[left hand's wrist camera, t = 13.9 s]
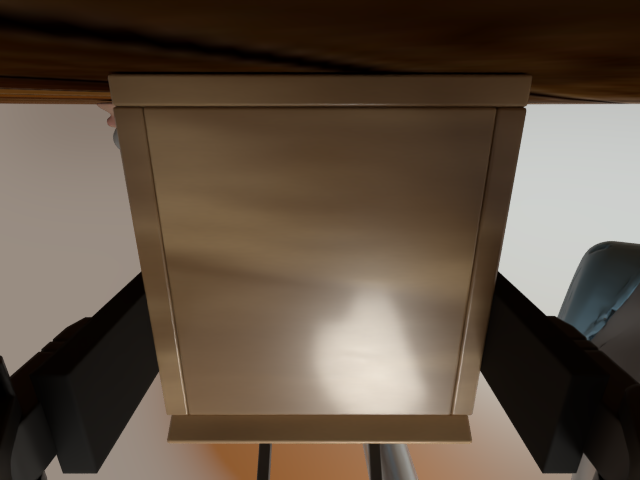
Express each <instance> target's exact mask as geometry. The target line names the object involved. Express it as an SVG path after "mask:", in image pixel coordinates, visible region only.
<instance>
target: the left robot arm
mask: <svg viewBox="0 0 640 480" xmlns="http://www.w3.org/2000/svg"><path fill="white" fill-rule="evenodd" d="M480 371H481V373H482V374H483V376H484V378H485V379H486V381H487V382H488V384H489V386H490V387H491V389H492V391H493V392H494V394H495V396H496V397H497V399H498V401H499V402H500V404H501V406H502V407H503V409H504V410H505V412H506V414H507V415H508V417H509V419H510V420H511V422H512V423H513V425H514V427H515V428H516V430H517V432H518V433H519V435H520V437H521V438H522V440H523V442H524V443H525V445H526V447H527V448H528V450H529V452H530V453H531V455H532V457H533V458H534V460H535V462H536V463H537V465H538V466H539V468H540V470H541V471H542V473H572V479H571V480H640V244H634V243H625V242H616V241H607V242H602V243H599V244H597V245H594V246H593V247H591V248H590V249H589V250H588V251H587V252H586V253H585V255H584V256H583V258H582V260H581V262H580V264H579V266H578V268H577V270H576V273H575V275H574V277H573V279H572V282H571V284H570V286H569V289H568V291H567V294H566V296H565V299H564V302H563V304H562V307H561V309H560V312H559V315H558V317H555V316H546V315H545V314H544V313H543V312H542V311H541V310H539V309H538V308H537V307H536V306H535V305H534V304H533V303H532V302H531V301H530V300H529V299H528V298H526V297H525V296H524V295H523V294H522V293H521V292H520V291H519V290H518V289H517V288H516V287H515V286H513V285H512V284H511V283H510V282H509V281H508V280H507V279H506V278H505V277H504V276H503V275H502V274H500V273H499V272H498V273H497V278H496V284H495V289H494V295H493V301H492V306H491V312H490V317H489V323H488V329H487V334H486V340H485V346H484V351H483V357H482V362H481V368H480ZM158 372H159V367H158V361H157V355H156V350H155V344H154V338H153V333H152V327H151V321H150V316H149V310H148V305H147V299H146V293H145V288H144V282H143V277H142V271H141V272H140V273H139V274H138V275H137V276H136V277H135V278H134V279H133V280H132V281H131V282H129V283H128V284H127V285H126V286H125V287H124V288H123V289H122V290H121V291H120V292H119V293H117V294H116V295H115V296H114V297H113V298H112V299H111V300H110V301H109V302H108V303H107V304H106V305H104V306H103V307H102V308H101V309H100V310H99V311H98V312H97V313H96V314H95V315H94V316H93V317H85V318H83V319H81V320H79V321H78V322H76V323H74V324H72V325H70V326H68V327H67V328H65V329H64V330H63V331H62V332H61V333H60V334H58V335H57V336H56V337H55V338H54V339H53V342H49V343H48V344H47V345H46V346H45V347H44V348H42V351H41V352H38V353H37V354H36V355H34V356H33V357H32V358H31V359H30V360H29V361H28V362H26V363H25V364H24V365H23V366H22V367H21V368H20V369H18V370H17V371H16V372H15V373H14V374H13V375H11V376H9V374H8V371H7V368H6V366H5V363H4V360H3V357H2V356H0V480H47V476H46V474H45V471H44V470H45V469H46V468H47V466H48V465H49V464H50V462H51V461H52V460H53V458H54V457H55V456H56V454H57V457H58V460H59V463H60V466H61V469H62V472H63V473H97V472H98V471H99V469H100V467H101V466H102V464H103V463H104V461H105V459H106V458H107V456H108V454H109V453H110V451H111V449H112V448H113V446H114V444H115V443H116V441H117V440H118V438H119V436H120V435H121V433H122V431H123V430H124V428H125V426H126V425H127V423H128V421H129V420H130V418H131V416H132V415H133V413H134V411H135V410H136V408H137V407H138V405H139V403H140V402H141V400H142V398H143V397H144V395H145V393H146V392H147V390H148V388H149V387H150V385H151V384H152V382H153V380H154V378H155V377H156V375H157V374H158Z"/></svg>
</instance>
